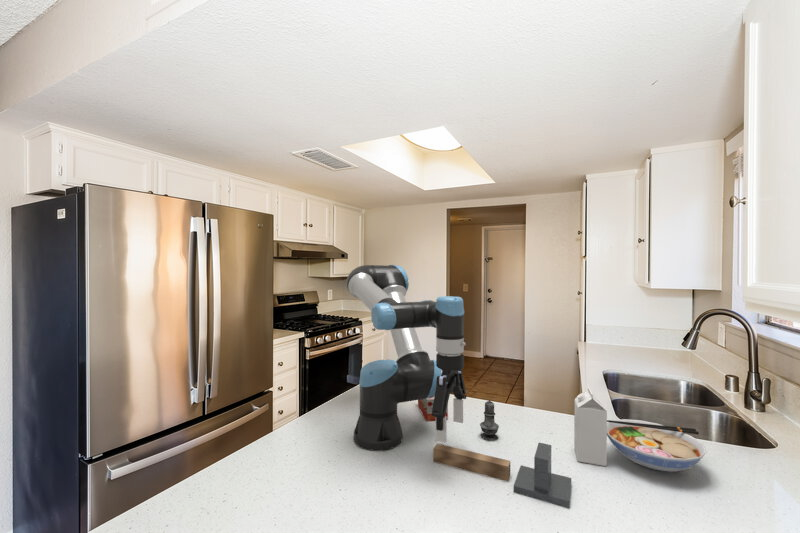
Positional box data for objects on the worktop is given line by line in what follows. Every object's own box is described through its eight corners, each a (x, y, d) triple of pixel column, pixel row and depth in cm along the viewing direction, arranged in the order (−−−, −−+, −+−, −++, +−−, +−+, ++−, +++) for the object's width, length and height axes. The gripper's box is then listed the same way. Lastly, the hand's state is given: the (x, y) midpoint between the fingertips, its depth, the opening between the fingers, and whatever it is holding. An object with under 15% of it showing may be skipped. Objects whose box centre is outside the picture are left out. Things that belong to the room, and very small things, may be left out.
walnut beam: (433, 462, 98) (433, 448, 98) (437, 457, 101) (437, 443, 101) (508, 482, 89) (508, 466, 89) (510, 476, 92) (510, 460, 92)
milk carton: (601, 454, 103) (601, 388, 103) (606, 467, 96) (607, 396, 96) (574, 449, 105) (574, 385, 105) (577, 462, 98) (577, 393, 98)
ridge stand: (513, 491, 85) (513, 454, 85) (520, 470, 94) (520, 436, 94) (569, 508, 80) (569, 467, 80) (571, 484, 88) (571, 447, 88)
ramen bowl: (608, 477, 92) (608, 445, 92) (593, 437, 113) (593, 411, 113) (731, 499, 83) (731, 464, 83) (689, 451, 104) (690, 423, 104)
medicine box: (417, 405, 138) (417, 384, 138) (437, 404, 140) (437, 383, 140) (426, 422, 124) (426, 399, 124) (448, 420, 125) (448, 397, 125)
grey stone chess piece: (499, 442, 109) (499, 402, 109) (479, 440, 111) (480, 401, 111) (498, 433, 115) (498, 396, 115) (479, 431, 116) (479, 394, 116)
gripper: (446, 365, 85) (447, 455, 85) (476, 346, 107) (476, 417, 107) (418, 361, 89) (418, 447, 88) (452, 343, 111) (452, 412, 110)
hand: (450, 431), depth 98 cm, fingers open, 13 cm apart
